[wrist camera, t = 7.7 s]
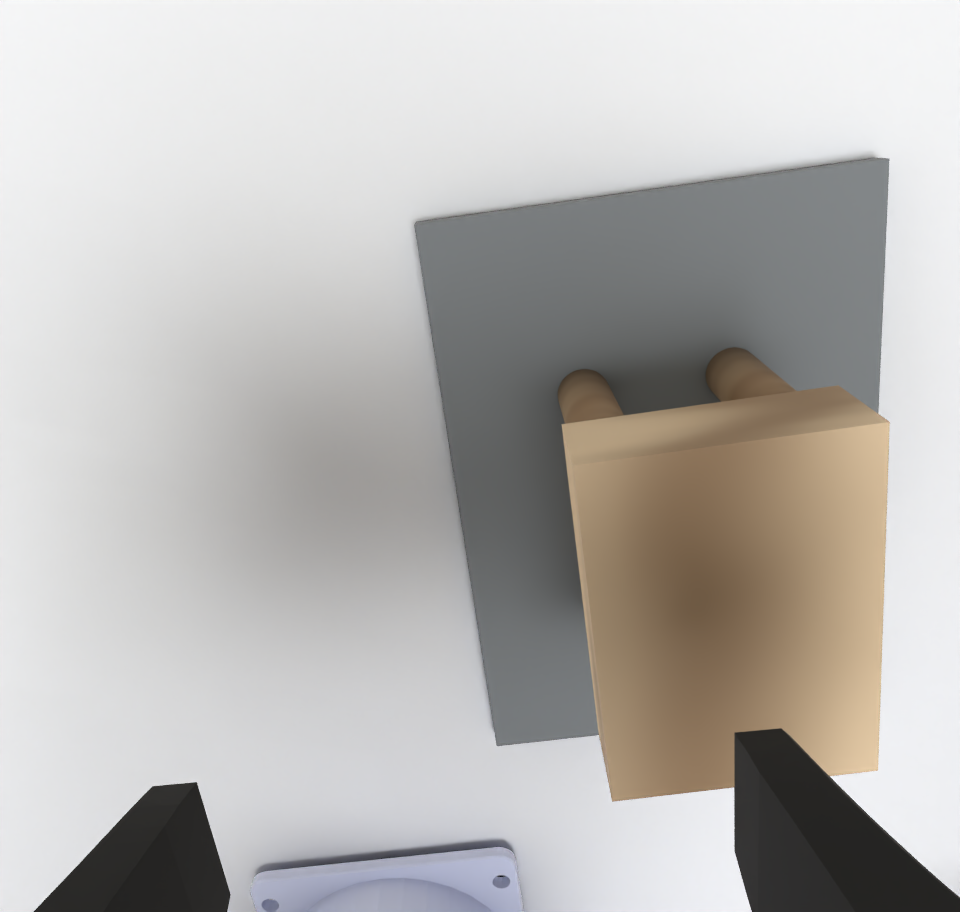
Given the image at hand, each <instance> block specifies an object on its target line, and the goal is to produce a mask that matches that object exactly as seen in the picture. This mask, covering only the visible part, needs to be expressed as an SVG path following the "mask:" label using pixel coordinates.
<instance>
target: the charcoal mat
mask: <svg viewBox="0 0 960 912" xmlns="http://www.w3.org/2000/svg"><path fill="white" fill-rule="evenodd" d="M888 177H889V159H886V158H871V159H864V160H857V161H850V162H843V163H835V164H828V165H821V166H814V167H807V168H800V169H792V170H785V171H778V172H771V173H764V174H757V175H749V176H742V177H735V178H728V179H721V180H714V181H706V182H699V183H692V184H685V185H678V186H671V187H663V188H656V189H649V190H642V191H635V192H628V193H620V194H613V195H606V196H599V197H592V198H585V199H577V200H570V201H563V202H556V203H549V204H542V205H534V206H527V207H520V208H513V209H506V210H499V211H491V212H484V213H477V214H470V215H463V216H455V217H448V218H441V219H434V220H427V221H420V222H416V223H415V232H416V238H417V244H418V251H419V257H420V263H421V270H422V276H423V282H424V288H425V295H426V301H427V307H428V314H429V320H430V326H431V333H432V339H433V345H434V352H435V358H436V364H437V371H438V377H439V383H440V390H441V396H442V402H443V409H444V415H445V421H446V428H447V434H448V440H449V447H450V453H451V459H452V466H453V472H454V478H455V485H456V491H457V497H458V504H459V510H460V516H461V522H462V529H463V535H464V541H465V548H466V554H467V560H468V567H469V573H470V579H471V586H472V592H473V598H474V605H475V611H476V617H477V624H478V630H479V636H480V643H481V649H482V655H483V662H484V668H485V674H486V681H487V687H488V693H489V700H490V706H491V712H492V719H493V725H494V731H495V738H496V744H497V746H503V745H512V744H521V743H530V742H539V741H548V740H558V739H567V738H576V737H585V736H594V735H599V732H598V725H597V716H596V708H595V700H594V691H593V683H592V675H591V666H590V658H589V650H588V641H587V633H586V625H585V616H584V608H583V602H582V591H581V583H580V574H579V566H578V558H577V549H576V541H575V533H574V524H573V516H572V508H571V499H570V491H569V483H568V474H567V466H566V458H565V449H564V441H563V432H562V424H565V422H564V418H563V415H562V412H561V408H560V405H559V401H558V389H559V386H560V384H561V382H562V380H563V379H564V378H565V377H566V376H567V375H568V374H570V373H571V372H574V371H576V370H580V369H590V370H594V371H596V372H598V373H600V374H601V375H602V376H603V377H604V378H605V379H606V381H607V383H608V385H609V387H610V389H611V391H612V393H613V395H614V397H615V399H616V401H617V402H618V404H619V406H620V408H621V410H622V412H623V414H624V415H631V414H638V413H645V412H652V411H659V410H667V409H674V408H681V407H688V406H695V405H702V404H709V403H716V402H721V401H720V400H719V399H718V398H717V397H716V395H715V394H714V393H713V392H712V391H711V390H710V388H709V387H708V385H707V382H706V369H707V366H708V364H709V362H710V360H711V359H712V358H713V357H714V356H715V355H716V354H717V353H719V352H720V351H722V350H724V349H727V348H733V347H737V348H742V349H745V350H747V351H749V352H750V353H751V354H753V355H754V356H755V357H756V358H757V359H759V360H760V361H761V362H762V363H763V364H765V365H766V366H767V367H768V368H770V369H771V370H772V371H773V372H774V373H776V374H777V375H778V376H779V377H780V378H782V379H783V380H784V381H785V382H786V383H788V384H789V385H790V386H791V387H793V388H794V389H795V390H796V391H802V390H809V389H816V388H823V387H830V386H837V385H839V386H840V387H841V388H843V389H844V390H846V391H847V392H848V393H850V394H851V395H853V396H854V397H855V398H857V399H858V400H860V401H861V402H862V403H864V404H865V405H867V406H868V407H869V408H871V409H872V410H874V411H875V412H876V413H878V406H879V383H880V360H881V338H882V315H883V292H884V269H885V246H886V223H887V200H888Z"/></svg>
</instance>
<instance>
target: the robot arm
mask: <svg viewBox="0 0 960 912" xmlns="http://www.w3.org/2000/svg"><path fill="white" fill-rule="evenodd" d="M734 784H735V854H736V857H737V861H738V865H739V868H740V872H741V875H742V879H743V883H744V886H745V890H746V893H747V897H748V900H749V904H750V907H751V910H752V912H960V897H958V896H957V895H956V894H955V893H954V892H953V891H951V890H950V889H949V888H948V887H947V886H945V885H944V884H943V883H942V882H941V881H940V880H939V879H937V878H936V877H935V876H934V875H933V874H932V873H931V872H930V871H928V870H927V869H926V868H925V867H924V866H923V865H922V864H921V863H919V862H918V861H917V860H916V859H915V858H914V857H913V856H912V855H911V854H910V853H909V852H907V851H906V850H905V849H904V848H903V847H902V846H901V845H900V844H899V843H898V842H897V841H896V840H895V839H893V838H892V837H891V836H890V835H889V834H888V833H887V832H886V831H885V830H884V829H883V828H882V827H881V826H879V825H878V824H877V823H876V822H875V821H874V820H873V819H872V818H871V817H870V816H869V815H868V814H867V813H866V812H865V811H864V810H863V809H862V808H861V807H860V806H859V805H858V804H857V803H856V802H855V801H854V800H853V799H852V798H851V797H850V796H849V795H848V794H847V793H846V792H845V791H844V790H842V789H841V788H840V787H839V786H838V785H837V784H836V783H835V782H834V781H833V779H832V778H831V777H830V776H829V775H828V774H827V773H826V772H825V771H824V770H823V769H822V768H821V767H820V766H819V765H818V764H817V763H816V762H815V761H814V760H813V759H812V758H811V757H810V756H809V755H808V754H807V753H806V752H805V751H804V750H803V749H802V748H801V747H800V745H799V744H798V743H797V742H796V741H795V740H794V739H793V738H792V737H791V736H790V735H789V734H788V733H786V732H785V731H784V730H783V729H782V728H778V729H768V730H757V731H746V732H735V733H734ZM499 875H504V876H505V877H497V876H499ZM250 891H251V896H252V899H253V902H254V906H255V909H256V912H524V908H523V902H522V896H521V889H520V883H519V877H518V870H517V864H516V858H515V855H514V853H513V852H511V851H510V850H509V849H506V848H504V847H492V848H483V849H473V850H463V851H454V852H444V853H435V854H425V855H415V856H406V857H396V858H386V859H377V860H367V861H357V862H348V863H338V864H329V865H319V866H309V867H300V868H290V869H280V870H271V871H264V872H260V873H259V874H257V875H256V876H255V877H254V879H253V882H252V885H251V888H250ZM229 899H230V892H229V888H228V885H227V882H226V878H225V875H224V872H223V869H222V865H221V862H220V859H219V855H218V852H217V849H216V845H215V842H214V839H213V835H212V832H211V829H210V825H209V822H208V819H207V815H206V812H205V809H204V805H203V802H202V799H201V795H200V792H199V789H198V785H197V782H195V783H184V784H174V785H163V786H153V787H152V788H151V789H150V790H149V791H148V792H147V793H146V794H145V795H144V796H143V797H142V798H141V799H140V800H139V801H138V802H137V803H136V804H135V805H134V806H133V807H132V808H131V809H130V810H129V811H128V812H127V813H126V814H125V815H124V817H123V818H122V819H121V820H120V821H119V822H118V823H117V824H116V825H115V826H114V827H113V828H112V829H111V830H110V832H109V833H108V834H107V835H106V836H105V837H104V838H103V839H102V840H101V841H100V842H99V843H98V844H97V846H96V847H95V848H94V849H93V850H92V851H91V852H90V853H89V854H88V855H87V856H86V857H85V858H84V859H83V861H82V862H81V863H80V864H79V865H78V866H77V867H76V868H75V869H74V870H73V871H72V872H71V873H70V874H69V875H68V876H67V877H66V878H65V879H64V881H63V882H62V883H61V884H60V885H59V886H58V887H57V888H56V889H55V890H54V891H53V892H52V893H51V894H50V895H49V896H48V897H47V898H46V899H45V900H44V901H43V902H42V904H41V905H40V906H39V907H38V908H37V909H36V910H35V911H34V912H227V909H228V904H229ZM270 899H273V900H270Z"/></svg>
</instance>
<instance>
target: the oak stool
mask: <svg viewBox="0 0 960 912" xmlns="http://www.w3.org/2000/svg"><path fill="white" fill-rule="evenodd" d="M706 382H707V385H708V387H709V388H710V390H711V391H712V392H713V393H714V394H715V395H716V397H717V398H718V399H719V400H720V401H721V402H716V403H709V404H702V405H695V406H688V407H681V408H674V409H667V410H659V411H652V412H645V413H638V414H631V415H624V414H623V412H622V410H621V408H620V406H619V404H618V402H617V401H616V399H615V397H614V395H613V393H612V391H611V389H610V387H609V385H608V383H607V381H606V379H605V378H604V377H603V376H602V375H601V374H600V373H598V372H596V371H594V370H590V369H580V370H576V371H574V372H571V373H570V374H568V375H567V376H566V377H565V378H564V379H563V380H562V382H561V384H560V386H559V389H558V401H559V405H560V408H561V412H562V415H563V418H564V422H565V424H562V432H563V441H564V449H565V458H566V466H567V474H568V483H569V491H570V499H571V508H572V516H573V524H574V533H575V541H576V549H577V558H578V566H579V574H580V583H581V591H582V602H583V608H584V616H585V625H586V633H587V641H588V650H589V658H590V666H591V675H592V683H593V691H594V700H595V708H596V716H597V725H598V732H599V737H600V742H601V747H602V752H603V757H604V762H605V767H606V772H607V777H608V782H609V787H610V792H611V797H612V801H621V800H629V799H638V798H646V797H655V796H664V795H672V794H681V793H689V792H698V791H706V790H715V789H723V788H732V787H735V784H734V733H735V732H746V731H757V730H768V729H778V728H782V729H783V730H784V731H785V732H786V733H788V734H789V735H790V736H791V737H792V738H793V739H794V740H795V741H796V742H797V743H798V744H799V745H800V747H801V748H802V749H803V750H804V751H805V752H806V753H807V754H808V755H809V756H810V757H811V758H812V759H813V760H814V761H815V762H816V763H817V764H818V765H819V766H820V767H821V768H822V769H823V770H824V771H825V772H826V773H827V774H828V775H829V776H835V775H843V774H852V773H860V772H869V771H877V770H878V753H879V723H880V693H881V663H882V633H883V603H884V573H885V544H886V514H887V484H888V454H889V424H890V422H889V421H888V420H886V419H885V418H883V417H882V416H881V415H879V414H878V413H876V412H875V411H874V410H872V409H871V408H869V407H868V406H867V405H865V404H864V403H862V402H861V401H860V400H858V399H857V398H855V397H854V396H853V395H851V394H850V393H848V392H847V391H846V390H844V389H843V388H841V387H840V386H839V385H837V386H830V387H823V388H816V389H809V390H802V391H796V390H795V389H794V388H793V387H791V386H790V385H789V384H788V383H786V382H785V381H784V380H783V379H782V378H780V377H779V376H778V375H777V374H776V373H774V372H773V371H772V370H771V369H770V368H768V367H767V366H766V365H765V364H763V363H762V362H761V361H760V360H759V359H757V358H756V357H755V356H754V355H753V354H751V353H750V352H749V351H747V350H745V349H742V348H737V347H733V348H727V349H724V350H722V351H720V352H719V353H717V354H716V355H715V356H714V357H713V358H712V359H711V360H710V362H709V364H708V366H707V369H706Z"/></svg>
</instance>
